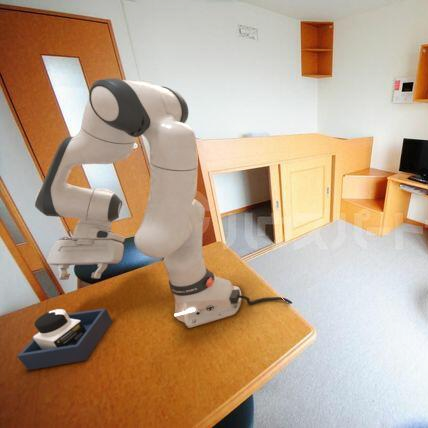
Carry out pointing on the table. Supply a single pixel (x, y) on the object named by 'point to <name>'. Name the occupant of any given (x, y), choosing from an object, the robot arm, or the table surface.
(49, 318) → the medicine bottle
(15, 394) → the table surface
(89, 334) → the bin
